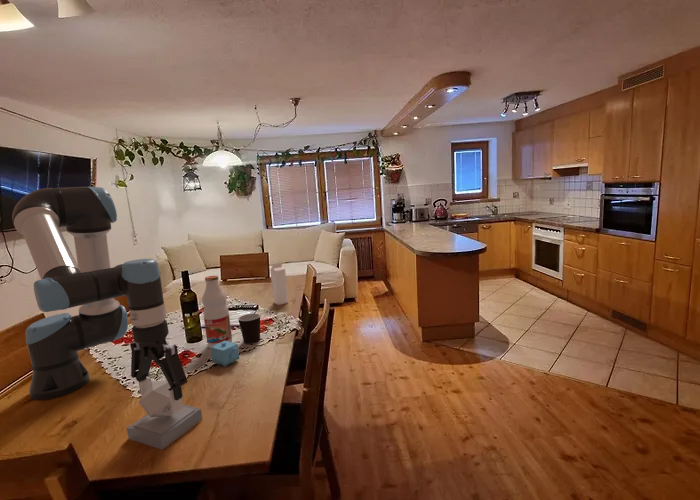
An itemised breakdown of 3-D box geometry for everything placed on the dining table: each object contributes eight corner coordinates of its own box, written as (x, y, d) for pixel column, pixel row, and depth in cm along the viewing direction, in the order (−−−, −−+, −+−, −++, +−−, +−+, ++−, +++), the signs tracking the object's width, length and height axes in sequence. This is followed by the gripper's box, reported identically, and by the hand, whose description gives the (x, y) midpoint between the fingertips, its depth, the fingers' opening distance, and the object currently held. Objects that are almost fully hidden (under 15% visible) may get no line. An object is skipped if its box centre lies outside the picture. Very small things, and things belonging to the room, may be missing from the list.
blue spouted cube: (246, 362, 125) (243, 342, 124) (231, 370, 120) (229, 349, 119) (224, 356, 131) (222, 336, 130) (210, 363, 126) (207, 343, 125)
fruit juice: (237, 340, 145) (229, 274, 141) (221, 350, 136) (212, 279, 132) (219, 338, 148) (210, 273, 144) (202, 348, 140) (192, 279, 136)
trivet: (128, 438, 87) (126, 426, 87) (170, 410, 98) (168, 400, 98) (162, 449, 83) (160, 437, 82) (202, 419, 93) (200, 407, 93)
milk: (273, 303, 195) (269, 263, 191) (283, 300, 198) (279, 262, 195) (278, 305, 190) (274, 265, 187) (288, 302, 194) (284, 263, 190)
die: (156, 431, 84) (179, 391, 85) (124, 412, 85) (148, 373, 86) (173, 421, 92) (194, 385, 94) (145, 404, 93) (166, 369, 95)
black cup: (259, 344, 140) (257, 320, 138) (238, 345, 140) (235, 321, 138) (266, 333, 151) (264, 310, 150) (246, 334, 151) (244, 311, 150)
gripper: (104, 324, 87) (119, 407, 91) (168, 333, 78) (182, 424, 82) (133, 314, 94) (146, 391, 97) (195, 321, 85) (207, 406, 88)
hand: (163, 406), depth 90 cm, fingers closed on die, 10 cm apart
